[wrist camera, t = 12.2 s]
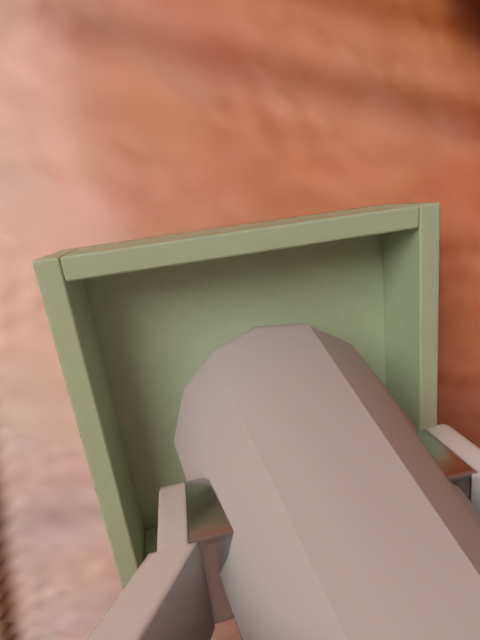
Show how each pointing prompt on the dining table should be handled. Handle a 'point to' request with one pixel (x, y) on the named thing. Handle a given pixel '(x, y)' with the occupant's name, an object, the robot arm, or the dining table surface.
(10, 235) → the dining table surface
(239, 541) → the salt shaker
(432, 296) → the tray
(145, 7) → the dining table surface
